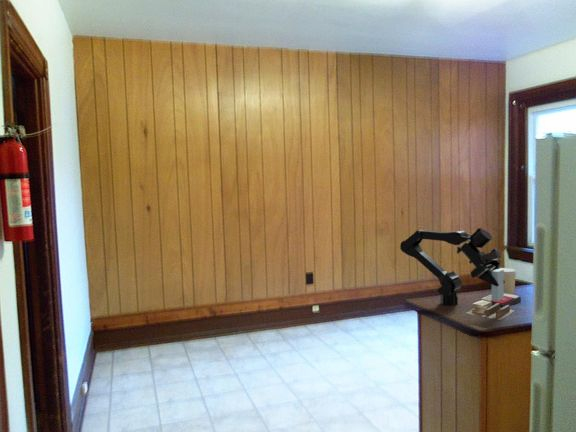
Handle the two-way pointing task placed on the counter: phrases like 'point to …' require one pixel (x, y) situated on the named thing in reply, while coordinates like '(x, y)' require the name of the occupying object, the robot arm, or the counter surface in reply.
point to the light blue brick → (498, 291)
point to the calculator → (504, 300)
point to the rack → (494, 312)
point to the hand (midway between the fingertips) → (501, 284)
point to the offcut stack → (481, 306)
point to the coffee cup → (509, 280)
